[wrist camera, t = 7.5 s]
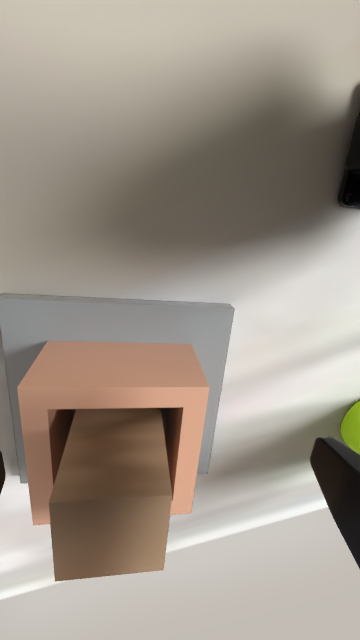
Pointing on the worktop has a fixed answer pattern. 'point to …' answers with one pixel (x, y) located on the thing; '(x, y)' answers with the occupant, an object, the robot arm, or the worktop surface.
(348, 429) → the soap dispenser
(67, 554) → the walnut block
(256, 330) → the worktop surface
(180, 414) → the terracotta well
